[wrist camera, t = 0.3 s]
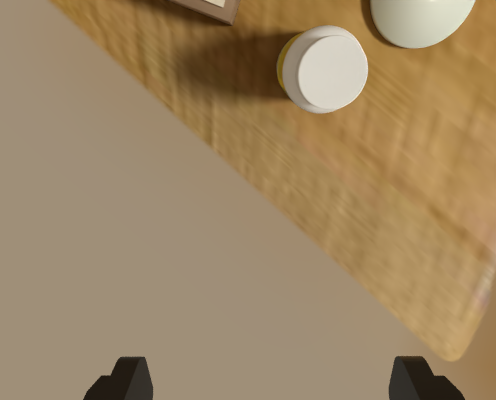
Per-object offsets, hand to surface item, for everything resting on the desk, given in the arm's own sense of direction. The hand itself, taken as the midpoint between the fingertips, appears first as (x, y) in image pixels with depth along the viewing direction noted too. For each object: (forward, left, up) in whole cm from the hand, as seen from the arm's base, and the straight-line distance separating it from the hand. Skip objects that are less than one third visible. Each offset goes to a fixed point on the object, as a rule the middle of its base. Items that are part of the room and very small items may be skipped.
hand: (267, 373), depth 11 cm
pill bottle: (-9, +2, -27) cm, 29 cm away
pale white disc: (-18, +9, -27) cm, 34 cm away
